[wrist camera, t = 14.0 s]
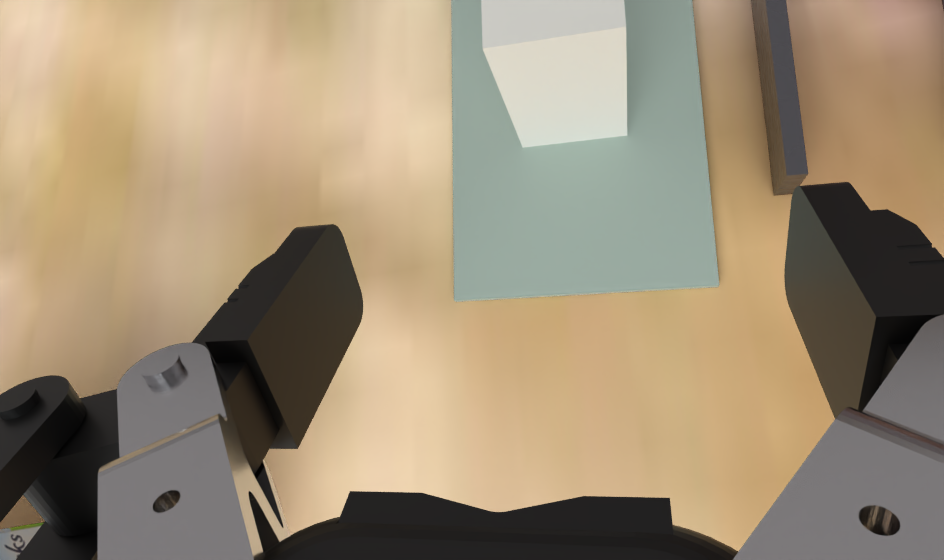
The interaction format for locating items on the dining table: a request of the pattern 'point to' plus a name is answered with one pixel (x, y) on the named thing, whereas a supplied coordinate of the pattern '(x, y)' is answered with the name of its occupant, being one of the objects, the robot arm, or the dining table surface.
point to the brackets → (780, 95)
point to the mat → (584, 177)
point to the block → (559, 67)
